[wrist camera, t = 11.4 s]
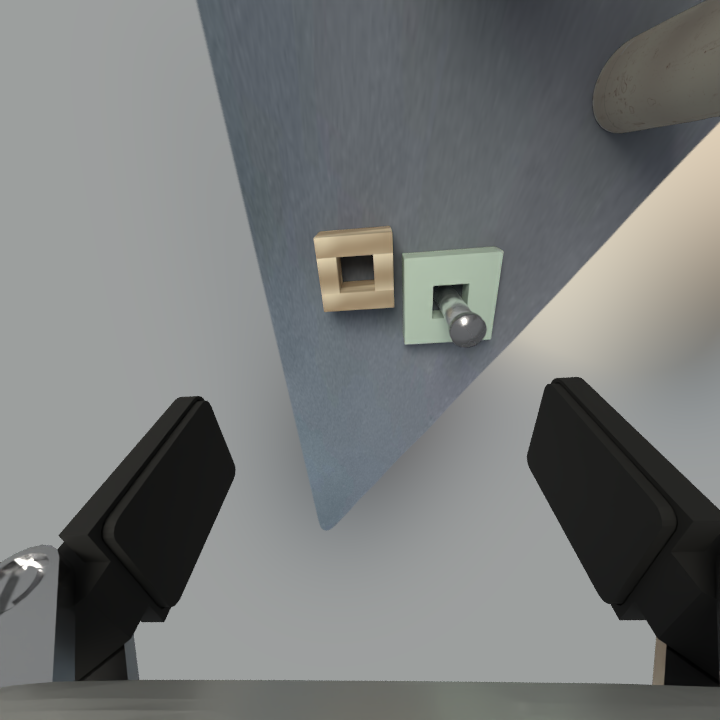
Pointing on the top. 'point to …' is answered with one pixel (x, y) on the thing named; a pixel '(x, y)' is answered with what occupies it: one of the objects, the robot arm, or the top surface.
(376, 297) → the frame
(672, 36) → the thermos bottle
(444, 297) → the pin
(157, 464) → the robot arm
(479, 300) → the dock
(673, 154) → the top surface
